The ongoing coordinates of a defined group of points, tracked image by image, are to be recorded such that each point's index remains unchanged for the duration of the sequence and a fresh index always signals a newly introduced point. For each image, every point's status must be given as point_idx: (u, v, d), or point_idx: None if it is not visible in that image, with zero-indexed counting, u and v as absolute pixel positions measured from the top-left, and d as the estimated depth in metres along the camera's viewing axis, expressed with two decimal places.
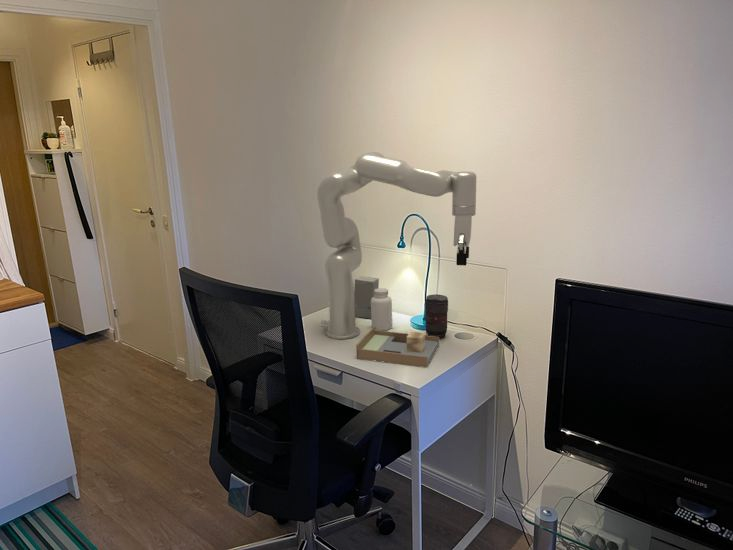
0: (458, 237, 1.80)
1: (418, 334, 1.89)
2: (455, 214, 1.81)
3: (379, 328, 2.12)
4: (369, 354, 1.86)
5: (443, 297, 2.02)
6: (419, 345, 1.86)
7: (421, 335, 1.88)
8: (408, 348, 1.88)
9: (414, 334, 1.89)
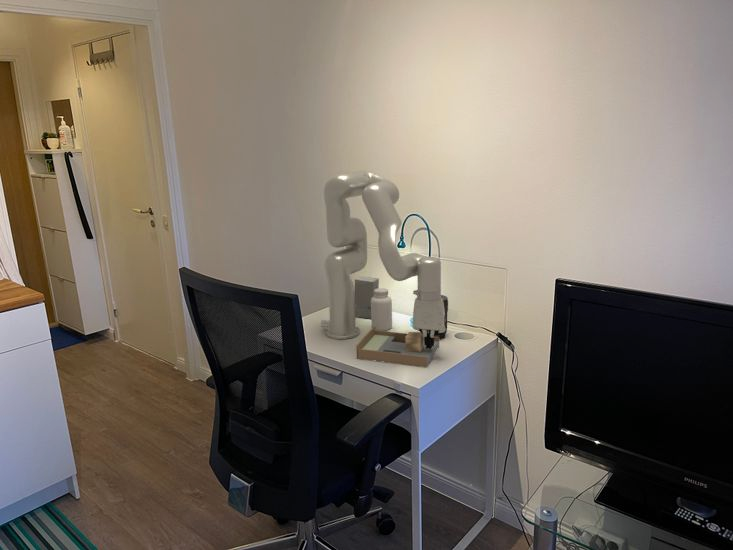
0: (443, 320, 1.83)
1: (417, 333, 1.89)
2: (436, 300, 1.80)
3: (379, 328, 2.12)
4: (369, 354, 1.86)
5: (443, 297, 2.02)
6: (418, 344, 1.86)
7: (420, 334, 1.88)
8: (407, 348, 1.88)
9: (413, 334, 1.89)
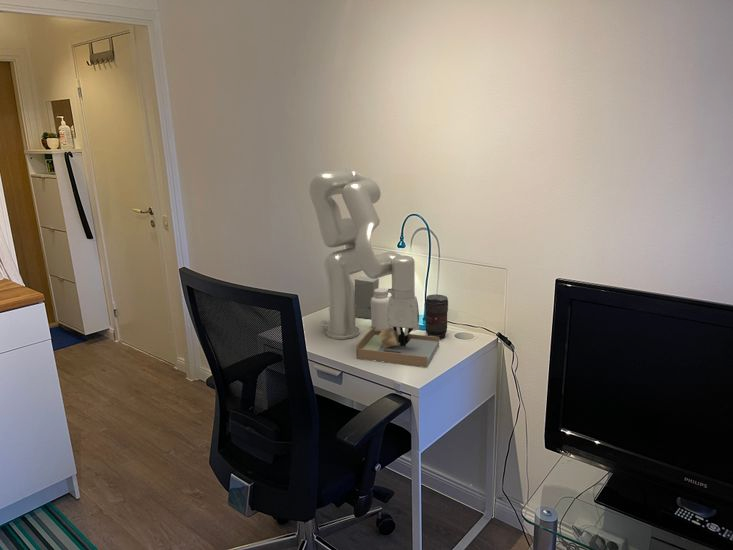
0: (417, 318, 1.86)
1: (390, 329, 1.92)
2: (409, 298, 1.83)
3: (379, 328, 2.12)
4: (369, 354, 1.86)
5: (443, 297, 2.02)
6: (393, 339, 1.89)
7: (393, 329, 1.91)
8: (384, 345, 1.91)
9: (387, 330, 1.92)
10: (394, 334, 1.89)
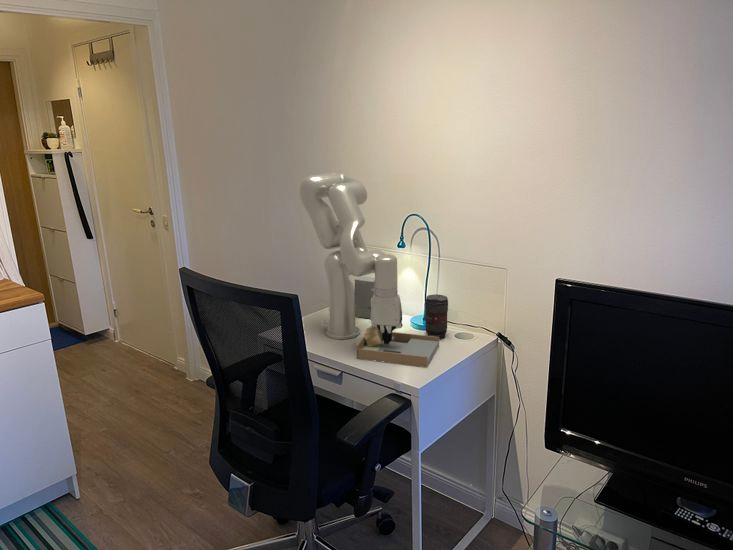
0: (400, 316, 1.88)
1: (374, 327, 1.94)
2: (392, 296, 1.85)
3: None
4: (369, 354, 1.86)
5: (443, 297, 2.02)
6: (377, 337, 1.91)
7: (376, 327, 1.93)
8: (368, 344, 1.92)
9: (370, 329, 1.93)
10: (378, 332, 1.91)
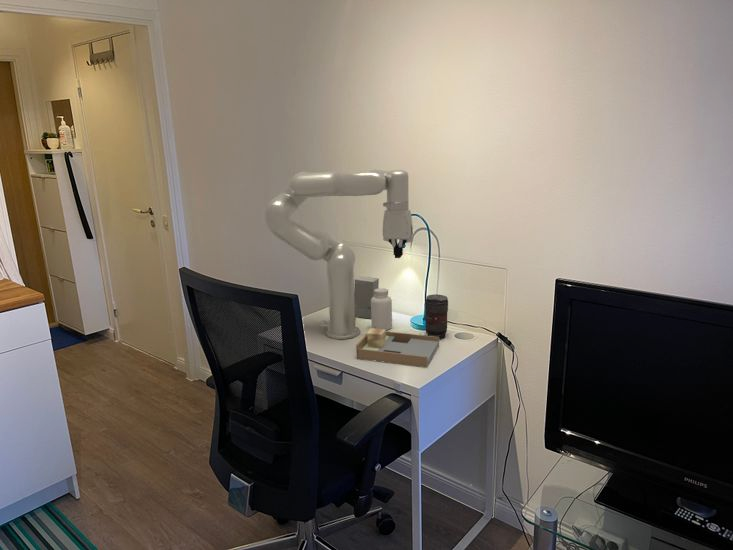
0: (411, 229, 1.96)
1: (379, 330, 1.93)
2: (403, 210, 1.94)
3: (379, 328, 2.12)
4: (369, 354, 1.86)
5: (443, 297, 2.02)
6: (380, 341, 1.91)
7: (382, 331, 1.92)
8: (369, 344, 1.92)
9: (375, 331, 1.93)
10: (382, 337, 1.91)
